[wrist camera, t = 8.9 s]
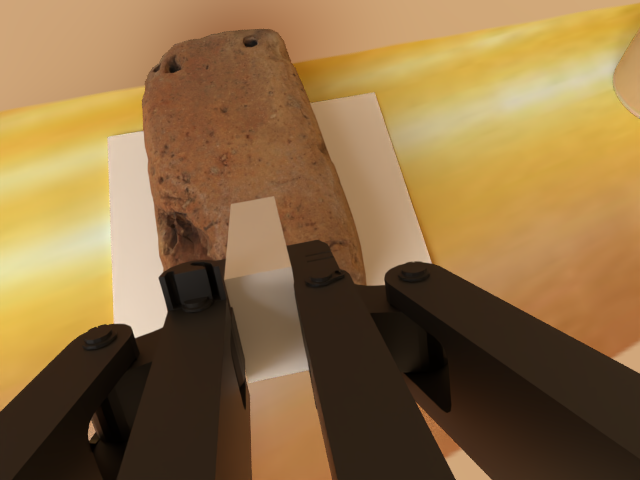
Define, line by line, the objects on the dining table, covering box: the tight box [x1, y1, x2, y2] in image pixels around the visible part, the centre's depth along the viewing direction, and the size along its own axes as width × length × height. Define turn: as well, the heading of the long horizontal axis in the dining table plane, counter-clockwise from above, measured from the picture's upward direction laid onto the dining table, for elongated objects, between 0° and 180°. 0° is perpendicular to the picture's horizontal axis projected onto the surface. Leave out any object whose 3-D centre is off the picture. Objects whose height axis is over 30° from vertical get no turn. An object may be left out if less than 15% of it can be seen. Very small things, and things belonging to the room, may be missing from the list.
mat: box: [108, 92, 432, 338], centre depth 34 cm, size 20×16×1 cm
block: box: [142, 29, 367, 312], centre depth 30 cm, size 11×8×20 cm
